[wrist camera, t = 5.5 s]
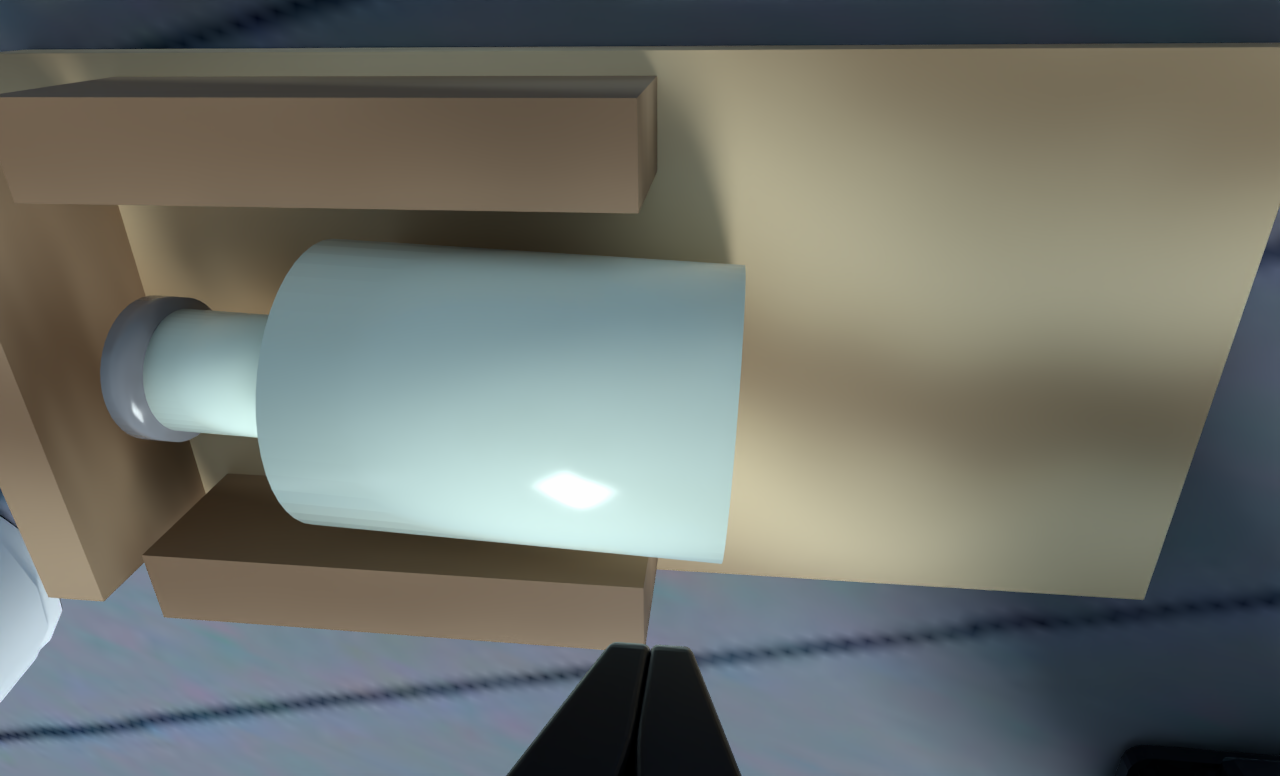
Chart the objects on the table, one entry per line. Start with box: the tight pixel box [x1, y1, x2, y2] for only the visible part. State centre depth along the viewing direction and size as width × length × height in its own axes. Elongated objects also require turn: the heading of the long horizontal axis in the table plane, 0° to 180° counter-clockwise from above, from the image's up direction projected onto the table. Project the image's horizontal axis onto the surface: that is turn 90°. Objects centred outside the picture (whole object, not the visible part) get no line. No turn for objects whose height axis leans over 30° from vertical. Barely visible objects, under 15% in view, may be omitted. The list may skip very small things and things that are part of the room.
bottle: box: [100, 239, 746, 564], centre depth 14 cm, size 5×5×10 cm
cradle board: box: [0, 43, 1280, 650], centre depth 15 cm, size 11×23×4 cm, turn 91°
